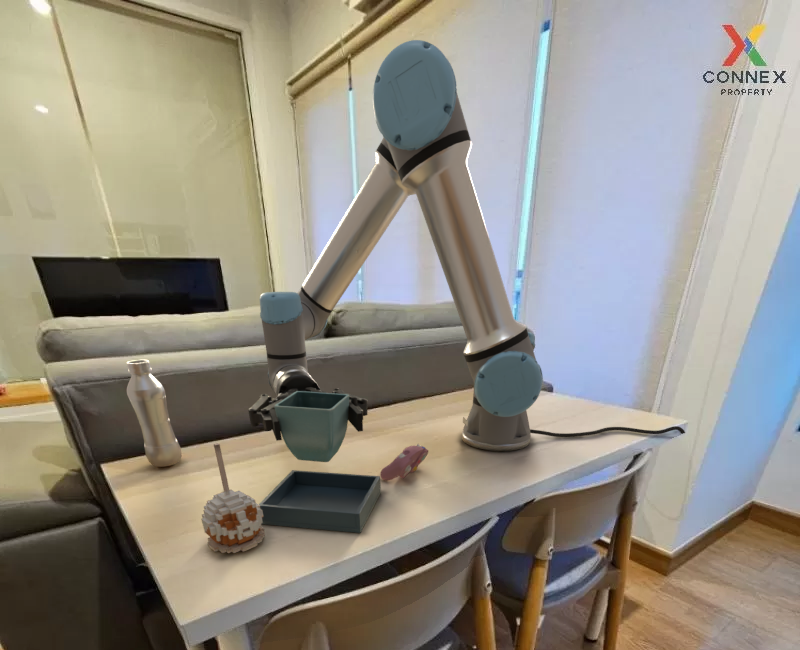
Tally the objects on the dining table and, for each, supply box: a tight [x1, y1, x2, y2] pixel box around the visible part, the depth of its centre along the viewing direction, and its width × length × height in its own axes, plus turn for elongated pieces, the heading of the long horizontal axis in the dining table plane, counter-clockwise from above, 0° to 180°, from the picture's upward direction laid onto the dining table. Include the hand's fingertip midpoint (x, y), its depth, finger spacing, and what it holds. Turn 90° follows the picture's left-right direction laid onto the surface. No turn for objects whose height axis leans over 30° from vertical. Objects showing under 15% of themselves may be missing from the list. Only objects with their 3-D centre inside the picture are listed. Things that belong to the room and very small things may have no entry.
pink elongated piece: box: [379, 443, 429, 481], centre depth 87 cm, size 10×5×7 cm, turn 148°
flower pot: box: [274, 391, 349, 463], centre depth 70 cm, size 9×9×9 cm
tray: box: [258, 469, 382, 534], centre depth 76 cm, size 16×14×3 cm
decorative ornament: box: [200, 443, 266, 554], centre depth 64 cm, size 8×8×15 cm
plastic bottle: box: [126, 359, 183, 468], centre depth 89 cm, size 6×7×20 cm
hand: (320, 426), depth 66 cm, fingers closed on flower pot, 11 cm apart
